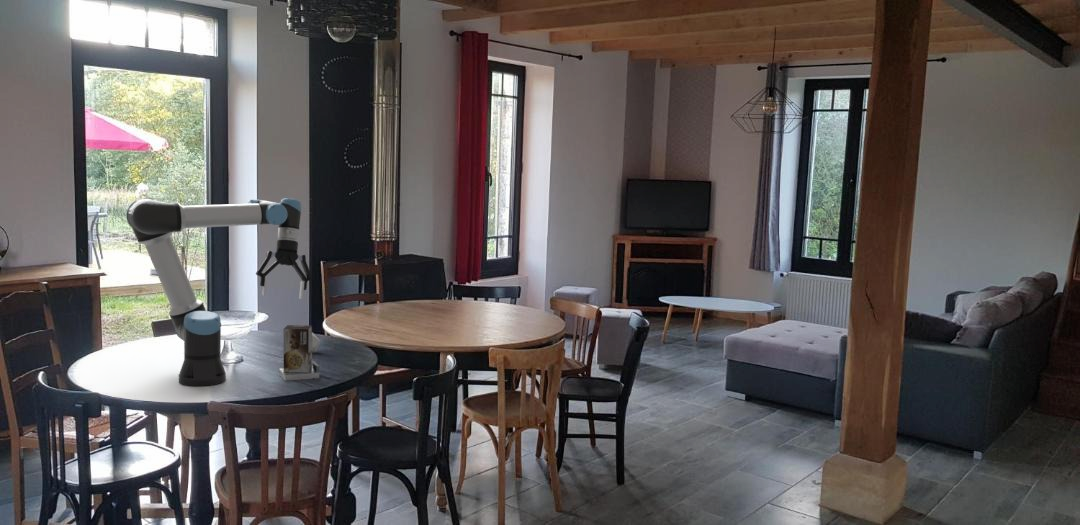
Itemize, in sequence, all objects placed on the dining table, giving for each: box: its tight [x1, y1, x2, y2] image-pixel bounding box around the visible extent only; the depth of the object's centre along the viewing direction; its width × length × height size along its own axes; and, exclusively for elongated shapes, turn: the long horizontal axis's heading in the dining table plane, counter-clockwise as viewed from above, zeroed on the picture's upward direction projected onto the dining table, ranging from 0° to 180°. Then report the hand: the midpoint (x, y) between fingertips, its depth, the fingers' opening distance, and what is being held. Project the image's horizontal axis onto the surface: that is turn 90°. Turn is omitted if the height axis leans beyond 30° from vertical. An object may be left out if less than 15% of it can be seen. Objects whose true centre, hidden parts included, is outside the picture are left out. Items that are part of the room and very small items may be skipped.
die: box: [312, 332, 321, 354], centre depth 340 cm, size 8×9×10 cm
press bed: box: [278, 359, 320, 382], centre depth 303 cm, size 12×10×4 cm
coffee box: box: [282, 324, 313, 373], centre depth 302 cm, size 9×6×16 cm
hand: (282, 297), depth 311 cm, fingers open, 13 cm apart
